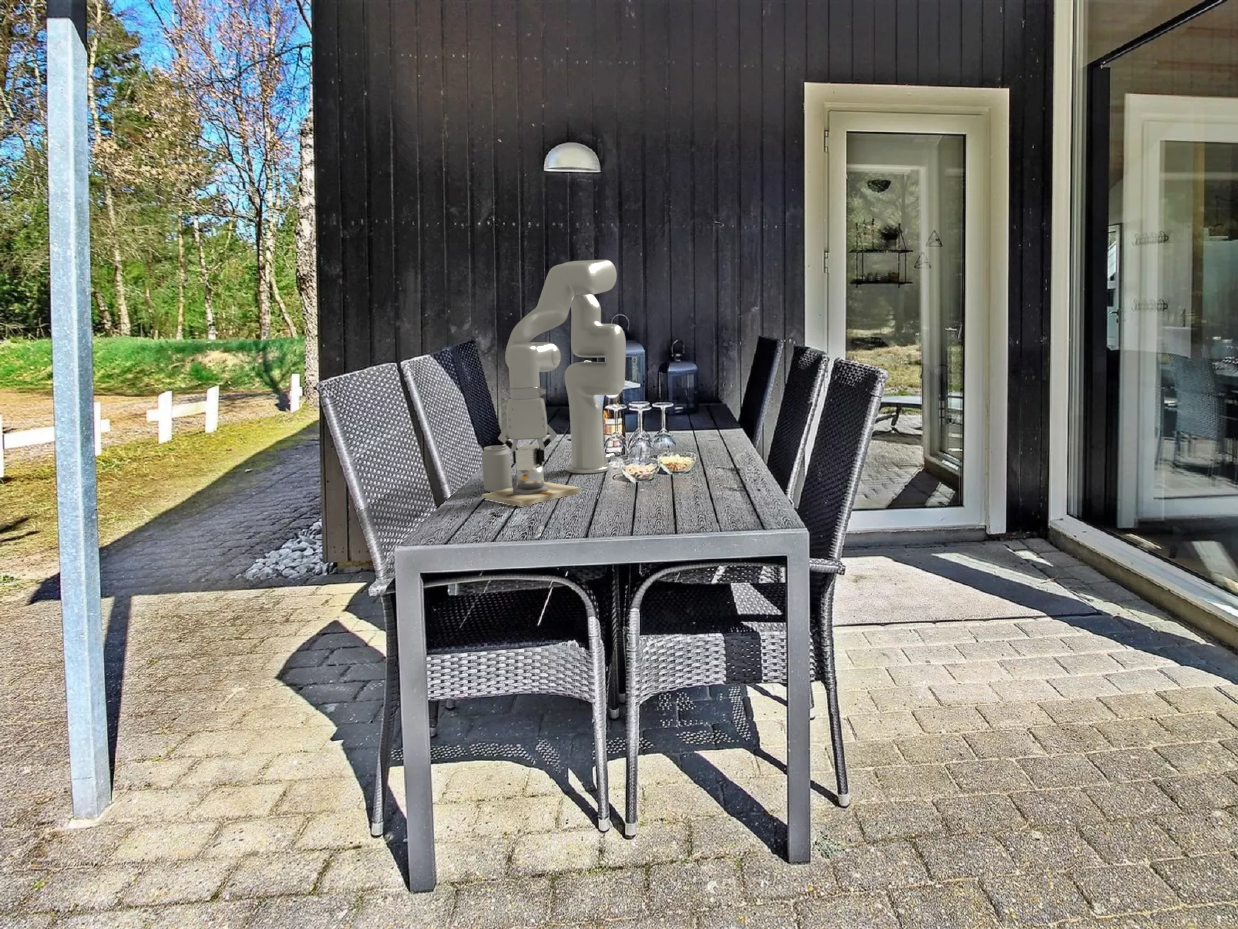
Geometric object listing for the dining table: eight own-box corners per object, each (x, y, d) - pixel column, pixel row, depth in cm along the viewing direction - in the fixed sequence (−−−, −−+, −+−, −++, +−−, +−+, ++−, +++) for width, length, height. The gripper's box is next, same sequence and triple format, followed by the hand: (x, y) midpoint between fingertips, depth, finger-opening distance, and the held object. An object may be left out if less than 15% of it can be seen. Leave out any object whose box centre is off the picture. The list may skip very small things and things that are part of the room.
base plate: (540, 486, 236) (540, 477, 236) (579, 493, 226) (578, 483, 226) (482, 500, 222) (481, 490, 221) (520, 507, 212) (520, 497, 211)
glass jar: (521, 482, 228) (519, 444, 226) (547, 482, 227) (545, 444, 225) (511, 490, 218) (509, 451, 217) (538, 490, 217) (536, 451, 216)
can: (515, 487, 236) (512, 444, 233) (509, 493, 228) (506, 448, 226) (487, 488, 236) (485, 444, 234) (481, 494, 229) (477, 449, 227)
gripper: (559, 391, 223) (562, 461, 227) (492, 394, 222) (496, 464, 225) (559, 394, 216) (562, 466, 219) (490, 397, 215) (494, 469, 218)
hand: (529, 464), depth 222 cm, fingers closed on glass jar, 5 cm apart
